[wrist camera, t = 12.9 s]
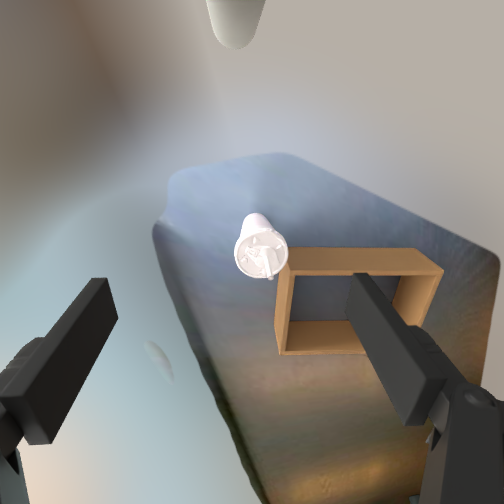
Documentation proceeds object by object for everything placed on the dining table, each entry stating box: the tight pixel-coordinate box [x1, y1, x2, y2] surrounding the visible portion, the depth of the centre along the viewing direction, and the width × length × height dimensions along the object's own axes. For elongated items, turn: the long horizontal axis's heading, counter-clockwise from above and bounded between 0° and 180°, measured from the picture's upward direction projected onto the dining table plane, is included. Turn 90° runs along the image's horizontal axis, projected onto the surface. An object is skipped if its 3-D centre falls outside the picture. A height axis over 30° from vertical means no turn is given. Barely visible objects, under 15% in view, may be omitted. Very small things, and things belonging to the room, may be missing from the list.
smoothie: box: [234, 213, 288, 280], centre depth 35 cm, size 6×6×14 cm
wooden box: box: [274, 247, 444, 355], centre depth 44 cm, size 16×22×7 cm
